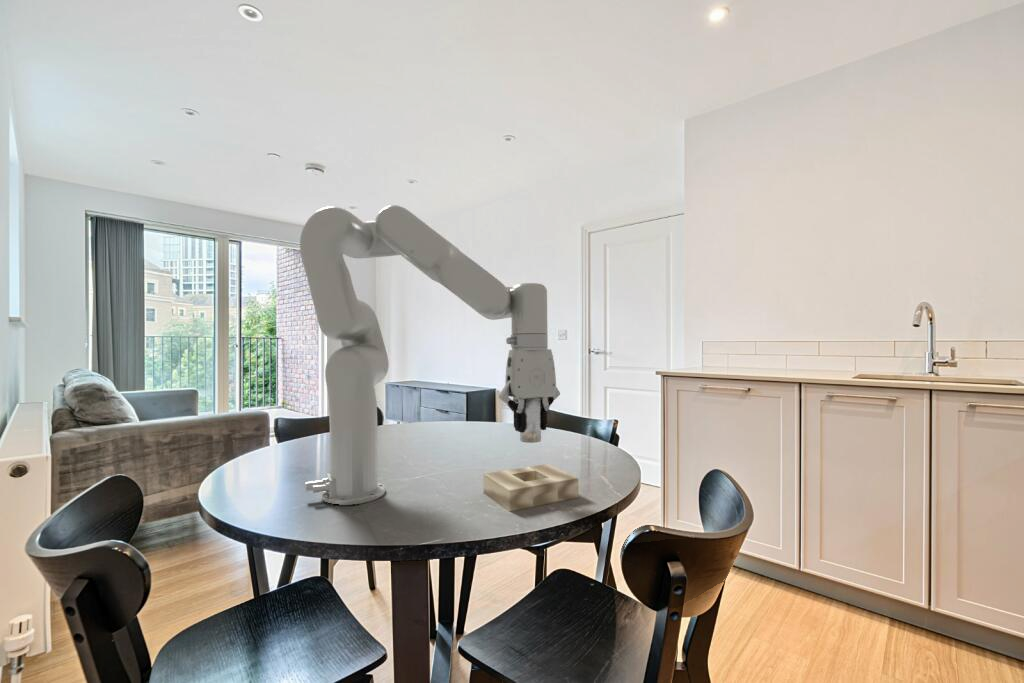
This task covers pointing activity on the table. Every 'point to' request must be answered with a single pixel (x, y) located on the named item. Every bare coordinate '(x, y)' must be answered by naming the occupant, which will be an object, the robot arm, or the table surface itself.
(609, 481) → the table surface
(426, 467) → the table surface
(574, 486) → the jig
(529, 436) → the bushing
